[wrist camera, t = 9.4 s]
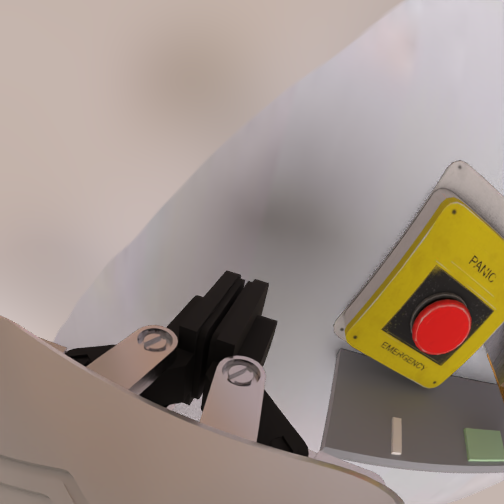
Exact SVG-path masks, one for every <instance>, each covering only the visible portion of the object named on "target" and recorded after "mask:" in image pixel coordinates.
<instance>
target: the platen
mask: <svg viewBox="0 0 504 504" xmlns="http://www.w3.org/2000/svg"><path fill="white" fill-rule="evenodd" d="M484 345H485V348H486V350H487V353H488V354H487V357H488V359H489V362H490V365H491V367H492V370H493V373H494V376H495V378H496V381H497V384H498V387H499V390H500V393H501V396H502V399H503V402H504V322H503V324H502V325H501V326H500V327H499V328H498V329H497V330H496V331H495V332H494V333H493V335H492V336H491V337H490V338H489V339H488V340H487V341H486V342H485V343H484Z"/></svg>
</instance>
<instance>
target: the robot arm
mask: <svg viewBox="0 0 504 504" xmlns="http://www.w3.org/2000/svg"><path fill="white" fill-rule="evenodd" d="M244 283H245V280H243V279H241V275H240V274H236V273H233V272H230V271H226V272H225V273H224V274H223V275H222V276H221V277H220V279H219V280H218V281H217V282H216V283H215V284H214V286H213V287H212V288H211V289H210V290H209V291H208V293H207V294H206V295H205V296H204V297H201V296H198V295H196V296H195V297H194V298H193V299H192V300H191V301H190V302H189V303H188V304H187V305H186V306H185V308H184V309H183V310H182V311H181V312H180V313H179V314H178V315H177V316H176V317H175V319H174V320H173V321H172V322H171V323H170V324H169V325H168V326H167V327H166V328H165V327H163V326H157V325H149V326H145V327H142V328H140V329H138V330H137V331H135V332H134V333H132V334H131V335H130V336H128V337H127V338H125V339H124V340H123V341H121V342H120V343H118V344H116V345H107V346H97V347H86V348H76V349H71V350H69V351H67V347H64V346H61V345H58V344H55V343H53V342H50V341H47V340H44V339H42V338H39V337H37V336H36V335H34V334H32V333H31V332H29V331H28V330H26V329H25V328H23V327H21V326H20V325H18V324H17V323H15V322H13V321H11V320H9V319H7V318H5V317H2V316H0V504H404V502H403V500H402V499H401V498H400V497H399V496H398V495H397V494H396V493H395V492H394V491H392V490H391V489H390V488H388V487H387V486H386V485H385V482H384V480H383V479H382V478H381V477H380V476H379V475H378V474H376V473H374V472H372V471H370V470H367V469H364V468H361V467H359V466H356V465H354V464H351V463H348V462H346V461H343V460H341V459H338V458H336V457H334V456H331V455H329V454H327V453H324V452H322V451H320V450H319V452H318V453H316V452H314V451H311V450H309V449H308V447H307V445H306V443H305V442H304V440H303V439H302V438H301V436H300V435H299V434H298V433H297V431H296V430H295V429H294V428H293V426H292V425H291V424H290V422H289V421H288V420H287V419H286V417H285V416H284V415H283V413H282V412H281V411H280V409H279V408H278V407H277V406H276V404H275V403H274V402H273V400H272V399H271V398H270V396H269V395H268V394H267V392H266V391H265V390H264V387H265V380H266V374H265V370H264V369H263V365H264V362H265V360H266V357H267V354H268V351H269V349H270V346H271V342H272V339H273V336H274V332H275V329H276V325H277V321H276V320H272V319H269V318H266V317H263V316H261V315H262V311H263V307H264V303H265V299H266V295H267V291H268V286H269V283H266V282H263V281H260V280H256V279H255V280H254V281H253V282H250V281H248V282H247V284H246V285H245V287H244ZM202 393H203V397H202V405H201V410H202V416H201V419H200V422H198V421H195V420H193V419H190V418H188V417H186V416H183V415H181V414H178V413H176V412H174V411H173V409H174V407H175V404H176V403H181V402H183V403H185V404H188V405H190V404H191V402H192V400H193V399H194V398H196V399H199V398H200V397H201V395H202Z"/></svg>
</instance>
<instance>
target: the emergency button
mask: <svg viewBox="0 0 504 504" xmlns="http://www.w3.org/2000/svg"><path fill="white" fill-rule="evenodd" d="M503 322H504V197H503V196H502V195H501V194H500V193H499V192H498V191H497V190H496V189H495V188H494V187H493V186H492V185H491V184H490V183H489V182H488V181H487V180H485V179H484V178H483V177H482V176H481V175H480V174H479V173H478V172H477V171H476V170H474V169H473V168H472V167H471V166H470V165H469V164H467V163H465V162H463V161H456V162H453V163H452V164H451V165H450V166H449V167H448V168H447V169H446V171H445V172H444V174H443V175H442V177H441V179H440V180H439V182H438V183H437V185H436V186H435V188H434V190H433V191H432V193H431V194H430V196H429V197H428V199H427V200H426V202H425V203H424V205H423V206H422V208H421V209H420V211H419V212H418V214H417V215H416V217H415V218H414V220H413V221H412V222H411V224H410V225H409V227H408V228H407V230H406V231H405V232H404V234H403V235H402V237H401V238H400V239H399V241H398V242H397V244H396V245H395V246H394V248H393V249H392V250H391V252H390V253H389V254H388V256H387V257H386V258H385V260H384V261H383V262H382V264H381V265H380V266H379V268H378V269H377V270H376V272H375V273H374V274H373V275H372V277H371V278H370V279H369V281H368V282H367V283H366V284H365V286H364V287H363V288H362V289H361V291H360V292H359V293H358V294H357V296H356V297H355V298H354V299H353V300H352V302H351V303H350V304H349V305H348V307H347V308H346V309H345V310H344V311H343V312H342V314H341V315H340V316H339V317H338V318H337V320H336V322H335V324H334V333H335V334H336V335H337V336H338V337H339V338H341V339H343V340H344V341H346V342H347V343H348V344H349V345H351V346H352V347H353V348H355V349H357V350H359V351H360V352H362V353H364V354H366V355H367V356H369V357H371V358H373V359H374V360H376V361H378V362H380V363H381V364H383V365H385V366H387V367H389V368H390V369H392V370H394V371H396V372H398V373H399V374H401V375H403V376H405V377H406V378H408V379H410V380H412V381H414V382H416V383H417V384H419V385H421V386H423V387H425V388H435V387H437V386H439V385H440V384H441V383H443V382H444V381H445V380H446V379H447V378H448V377H449V376H451V375H452V374H453V373H454V372H455V371H456V370H457V369H458V368H459V367H460V366H462V365H463V364H464V363H465V362H466V361H467V360H468V359H469V358H470V357H471V356H472V355H473V354H474V353H475V352H476V351H477V350H478V349H479V348H480V347H481V346H482V345H483V344H484V343H485V342H486V341H487V340H488V339H489V338H490V337H491V336H492V335H493V333H494V332H495V331H496V330H497V329H498V328H499V327H500V326H501V325H502V324H503Z"/></svg>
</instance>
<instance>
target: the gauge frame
mask: <svg viewBox="0 0 504 504" xmlns="http://www.w3.org/2000/svg"><path fill="white" fill-rule="evenodd" d="M320 451H322V452H324V453H327V454H329V455H331V456H334V457H336V458H338V459H343V460H348V461H353V462H358V463H364V464H370V465H376V466H383V467H390V468H398V469H406V470H416V471H428V472H444V473H502V472H504V402H503V399H502V396H501V393H500V390H499V387H498V385H497V384H491V383H486V382H480V381H475V380H470V379H465V378H460V377H455V376H449V377H448V378H447V379H446V380H445V381H444V382H443V383H441V384H440V385H439V386H437V387H435V388H425V387H423V386H421V385H419V384H417V383H416V382H414V381H412V380H410V379H408V378H406V377H405V376H403V375H401V374H399V373H398V372H396V371H394V370H392V369H390V368H389V367H387V366H385V365H383V364H381V363H380V362H378V361H376V360H374V359H373V358H371V357H369V356H366V355H363V354H359V353H355V352H352V351H348V350H344V349H340V351H339V353H338V355H337V357H336V363H335V370H334V377H333V383H332V389H331V395H330V401H329V407H328V412H327V417H326V423H325V428H324V433H323V438H322V442H321V447H320Z"/></svg>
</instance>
